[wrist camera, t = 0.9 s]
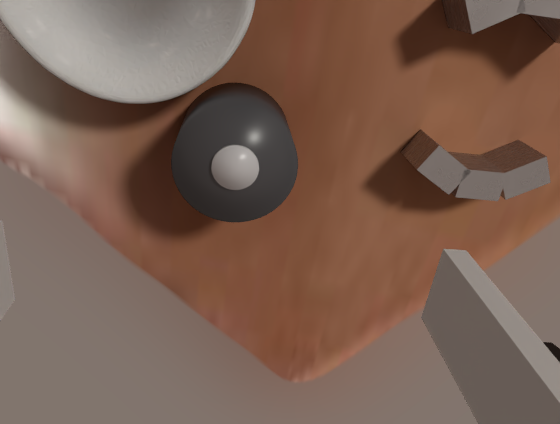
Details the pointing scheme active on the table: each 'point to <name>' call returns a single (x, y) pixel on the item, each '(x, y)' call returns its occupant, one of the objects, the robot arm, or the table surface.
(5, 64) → the table surface
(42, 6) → the spoon rest
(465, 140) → the table surface
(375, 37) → the table surface
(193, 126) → the cap
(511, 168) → the grey segmented ring
